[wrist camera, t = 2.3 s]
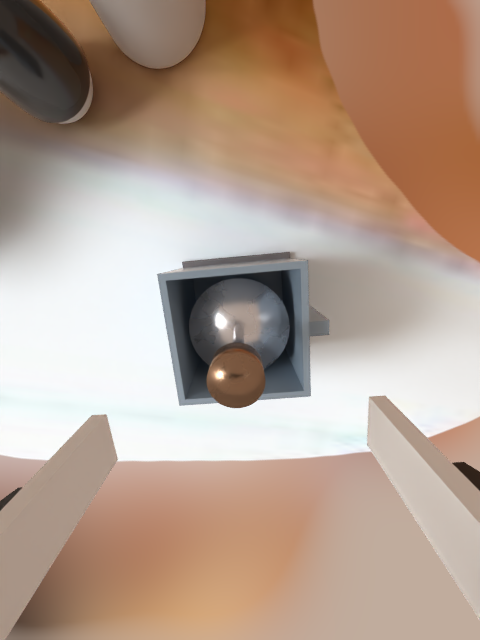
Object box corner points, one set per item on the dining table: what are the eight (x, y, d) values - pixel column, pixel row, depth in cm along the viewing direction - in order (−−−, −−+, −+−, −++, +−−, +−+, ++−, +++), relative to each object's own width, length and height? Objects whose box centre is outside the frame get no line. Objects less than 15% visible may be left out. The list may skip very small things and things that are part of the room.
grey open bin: (197, 358, 42) (173, 412, 28) (183, 261, 38) (147, 266, 24) (302, 350, 42) (332, 401, 27) (299, 251, 38) (333, 249, 23)
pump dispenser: (116, 66, 32) (10, -92, 18) (94, 150, 35) (-16, 74, 20) (38, 25, 31) (-143, -177, 17) (20, 114, 34) (-151, 7, 19)
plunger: (197, 375, 32) (165, 458, 19) (183, 282, 29) (135, 305, 16) (290, 368, 31) (322, 448, 18) (286, 273, 28) (321, 289, 15)
